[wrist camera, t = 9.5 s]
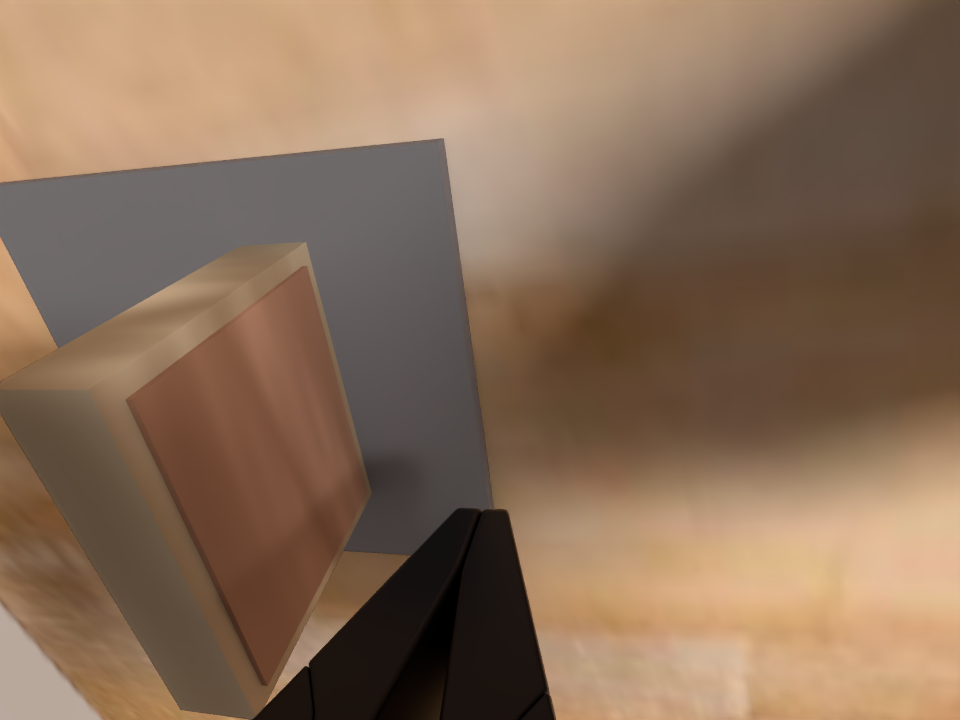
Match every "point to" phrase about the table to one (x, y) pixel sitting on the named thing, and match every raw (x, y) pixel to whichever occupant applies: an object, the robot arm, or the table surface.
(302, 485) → the picture frame
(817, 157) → the table surface
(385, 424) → the mat
